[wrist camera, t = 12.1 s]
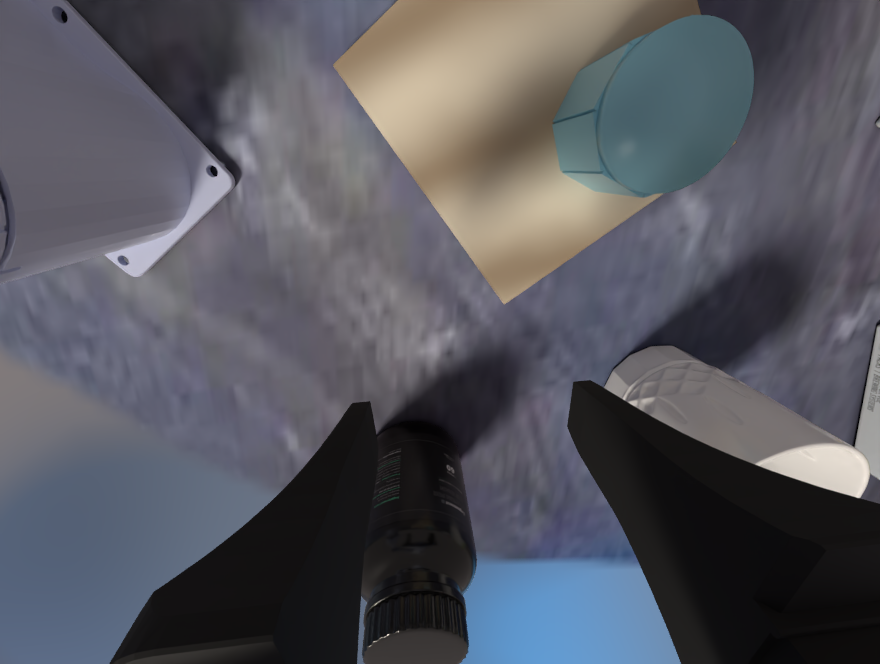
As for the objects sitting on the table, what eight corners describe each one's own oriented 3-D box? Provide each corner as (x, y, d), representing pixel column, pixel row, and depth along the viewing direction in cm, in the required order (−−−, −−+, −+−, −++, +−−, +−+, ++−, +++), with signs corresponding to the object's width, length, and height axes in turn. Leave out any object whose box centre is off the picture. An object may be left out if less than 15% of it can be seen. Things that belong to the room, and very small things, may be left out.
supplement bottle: (474, 459, 27) (517, 656, 16) (403, 496, 28) (399, 702, 17) (425, 402, 24) (438, 595, 13) (349, 446, 25) (303, 656, 14)
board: (337, 71, 15) (332, 64, 14) (617, -205, 12) (632, -234, 12) (500, 298, 21) (504, 304, 20) (720, 143, 18) (736, 142, 17)
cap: (619, 205, 18) (681, 216, 14) (534, 157, 17) (575, 153, 13) (689, 94, 16) (786, 69, 12) (599, 29, 15) (673, -25, 11)
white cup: (585, 429, 26) (675, 565, 17) (607, 338, 23) (734, 449, 14) (681, 423, 27) (818, 552, 18) (717, 334, 23) (908, 438, 14)
